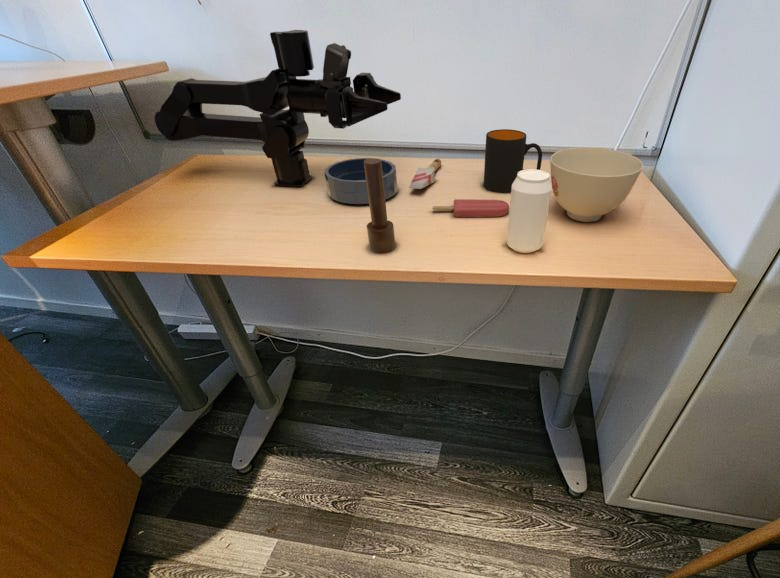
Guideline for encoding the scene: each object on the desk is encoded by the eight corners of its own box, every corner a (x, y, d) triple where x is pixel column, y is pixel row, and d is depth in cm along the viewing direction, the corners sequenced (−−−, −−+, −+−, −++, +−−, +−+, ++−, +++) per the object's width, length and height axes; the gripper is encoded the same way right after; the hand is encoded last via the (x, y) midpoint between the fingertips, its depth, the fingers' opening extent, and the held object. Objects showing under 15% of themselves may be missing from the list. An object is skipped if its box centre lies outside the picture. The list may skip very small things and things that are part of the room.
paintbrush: (405, 180, 86) (430, 155, 101) (406, 193, 88) (430, 167, 103) (423, 181, 85) (445, 156, 100) (423, 195, 87) (446, 168, 102)
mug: (537, 195, 88) (544, 142, 81) (481, 191, 90) (483, 139, 83) (538, 181, 94) (545, 131, 87) (485, 178, 96) (488, 128, 89)
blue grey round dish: (318, 204, 85) (313, 179, 81) (343, 179, 95) (339, 156, 92) (387, 209, 83) (384, 183, 80) (404, 183, 94) (403, 159, 90)
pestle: (366, 252, 70) (353, 164, 60) (374, 240, 73) (362, 155, 64) (391, 254, 69) (382, 166, 60) (398, 242, 72) (390, 157, 63)
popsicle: (432, 198, 83) (507, 198, 83) (433, 206, 84) (507, 206, 84) (431, 209, 79) (510, 209, 79) (432, 217, 80) (509, 217, 80)
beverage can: (501, 252, 70) (508, 178, 62) (510, 236, 74) (518, 165, 66) (538, 258, 68) (550, 183, 60) (545, 241, 72) (557, 170, 64)
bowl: (632, 236, 74) (650, 178, 67) (541, 230, 76) (550, 173, 69) (621, 201, 85) (636, 149, 78) (542, 196, 87) (550, 145, 81)
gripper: (285, 52, 69) (374, 56, 67) (329, 40, 83) (404, 43, 81) (300, 126, 77) (381, 132, 75) (338, 104, 90) (407, 108, 88)
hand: (394, 101), depth 80 cm, fingers open, 9 cm apart
